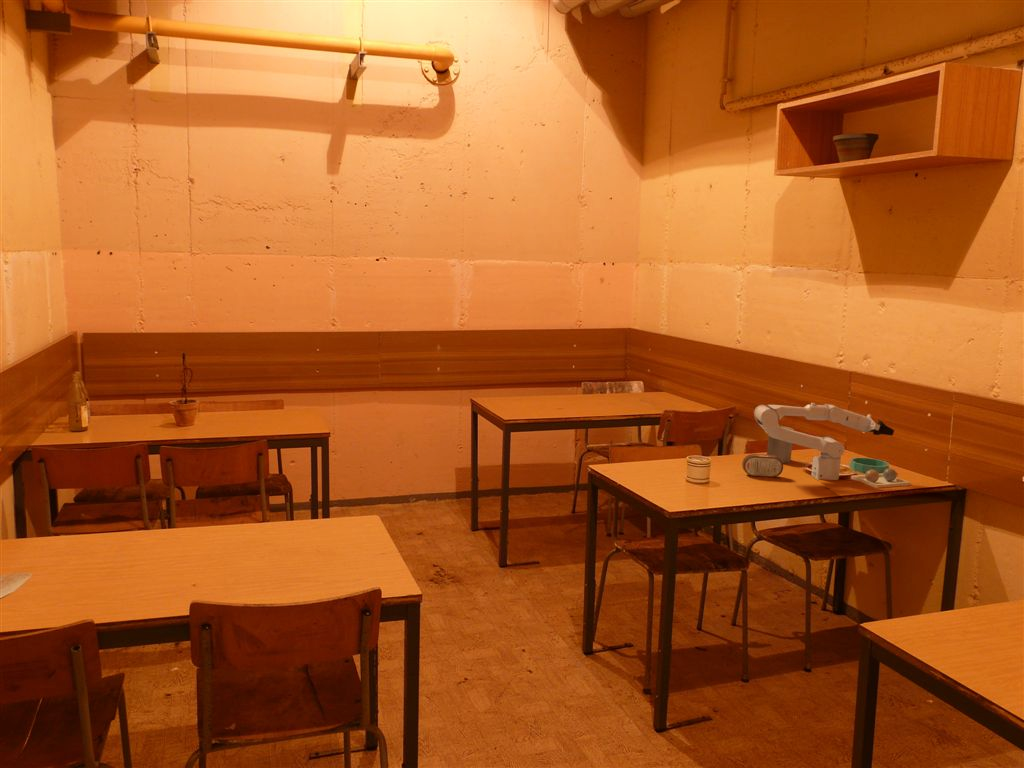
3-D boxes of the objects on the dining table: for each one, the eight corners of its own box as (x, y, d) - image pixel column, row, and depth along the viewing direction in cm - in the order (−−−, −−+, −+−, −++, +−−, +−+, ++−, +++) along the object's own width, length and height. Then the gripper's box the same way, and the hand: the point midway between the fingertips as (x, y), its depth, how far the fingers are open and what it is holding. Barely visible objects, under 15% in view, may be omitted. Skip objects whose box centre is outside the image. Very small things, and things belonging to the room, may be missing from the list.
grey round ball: (886, 482, 309) (887, 470, 309) (879, 479, 314) (881, 466, 313) (898, 482, 310) (900, 470, 309) (892, 479, 314) (893, 467, 314)
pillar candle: (762, 457, 345) (765, 422, 343) (783, 457, 347) (786, 422, 345) (773, 463, 336) (776, 428, 333) (795, 463, 338) (798, 427, 335)
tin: (781, 476, 316) (783, 455, 315) (783, 478, 313) (785, 457, 311) (741, 474, 317) (742, 452, 316) (742, 476, 314) (744, 454, 313)
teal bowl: (859, 476, 321) (860, 466, 320) (843, 466, 335) (844, 457, 334) (894, 476, 321) (895, 466, 321) (877, 467, 335) (878, 458, 335)
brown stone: (868, 483, 306) (869, 471, 306) (862, 480, 311) (863, 468, 310) (880, 484, 307) (882, 471, 306) (874, 480, 311) (875, 468, 311)
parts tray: (876, 489, 302) (877, 485, 301) (850, 480, 314) (851, 475, 313) (910, 487, 307) (910, 482, 307) (883, 477, 319) (884, 473, 319)
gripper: (867, 412, 303) (901, 423, 304) (849, 409, 318) (881, 419, 319) (860, 430, 304) (894, 441, 304) (843, 426, 318) (875, 437, 319)
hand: (887, 431), depth 311 cm, fingers open, 7 cm apart
